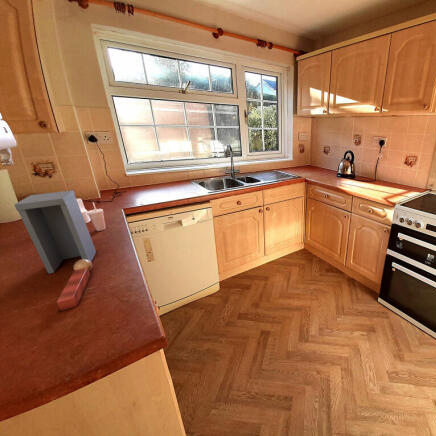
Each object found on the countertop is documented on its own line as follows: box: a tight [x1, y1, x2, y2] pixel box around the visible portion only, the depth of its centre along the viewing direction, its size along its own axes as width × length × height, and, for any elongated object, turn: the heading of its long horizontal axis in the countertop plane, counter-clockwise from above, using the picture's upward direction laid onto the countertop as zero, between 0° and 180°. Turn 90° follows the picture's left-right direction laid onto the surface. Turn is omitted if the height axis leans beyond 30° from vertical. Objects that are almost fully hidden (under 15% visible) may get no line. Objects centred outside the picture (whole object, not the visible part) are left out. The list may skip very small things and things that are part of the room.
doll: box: [56, 258, 93, 312], centre depth 78 cm, size 23×5×5 cm, turn 28°
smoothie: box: [87, 201, 107, 232], centre depth 119 cm, size 6×6×14 cm
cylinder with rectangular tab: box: [76, 198, 92, 224], centre depth 129 cm, size 9×9×12 cm
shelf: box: [13, 190, 97, 275], centre depth 88 cm, size 12×12×26 cm
